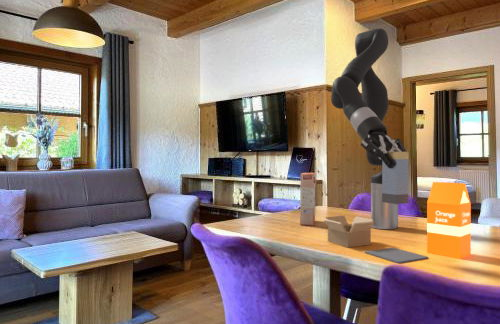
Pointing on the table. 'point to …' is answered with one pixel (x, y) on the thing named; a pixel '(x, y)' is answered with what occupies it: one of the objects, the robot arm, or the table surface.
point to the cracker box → (307, 199)
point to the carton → (349, 231)
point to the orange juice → (449, 220)
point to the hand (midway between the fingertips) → (399, 166)
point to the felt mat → (396, 255)
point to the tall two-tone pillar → (396, 179)
